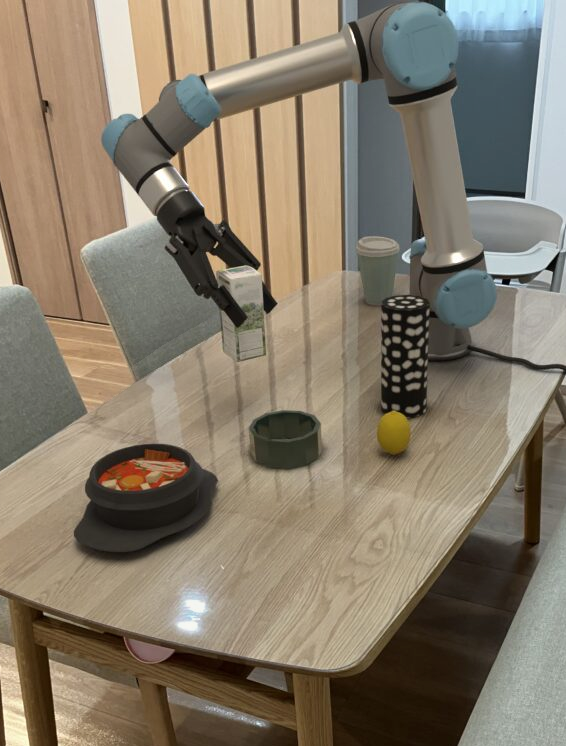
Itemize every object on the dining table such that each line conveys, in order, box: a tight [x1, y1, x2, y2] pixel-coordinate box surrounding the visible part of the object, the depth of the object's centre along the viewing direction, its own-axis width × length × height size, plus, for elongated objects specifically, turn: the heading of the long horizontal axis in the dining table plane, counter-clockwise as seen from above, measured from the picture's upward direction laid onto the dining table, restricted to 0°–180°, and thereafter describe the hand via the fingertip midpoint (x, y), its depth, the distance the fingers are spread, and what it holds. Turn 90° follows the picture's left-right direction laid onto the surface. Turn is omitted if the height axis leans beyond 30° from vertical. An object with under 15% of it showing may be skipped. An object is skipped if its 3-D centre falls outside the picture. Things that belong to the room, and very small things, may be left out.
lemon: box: [376, 411, 412, 456], centre depth 135 cm, size 6×6×8 cm
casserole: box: [73, 443, 219, 553], centre depth 121 cm, size 25×19×8 cm
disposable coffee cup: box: [355, 235, 400, 307], centre depth 201 cm, size 11×11×15 cm
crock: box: [248, 409, 323, 470], centre depth 138 cm, size 12×12×5 cm
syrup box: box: [215, 266, 267, 363], centre depth 139 cm, size 6×6×14 cm
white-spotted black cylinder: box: [380, 294, 430, 419], centre depth 147 cm, size 8×8×20 cm
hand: (257, 315), depth 137 cm, fingers closed on syrup box, 7 cm apart
